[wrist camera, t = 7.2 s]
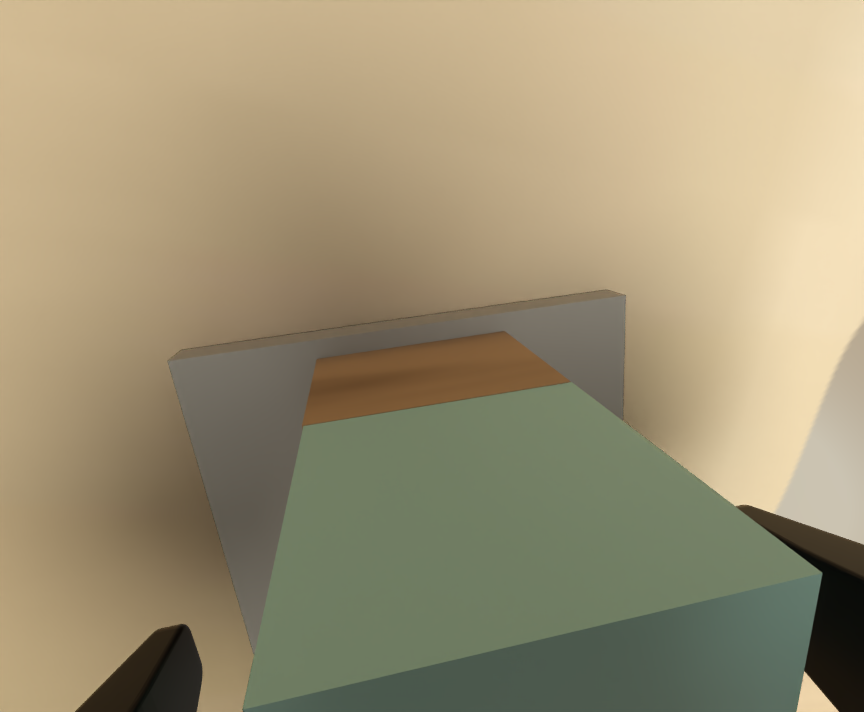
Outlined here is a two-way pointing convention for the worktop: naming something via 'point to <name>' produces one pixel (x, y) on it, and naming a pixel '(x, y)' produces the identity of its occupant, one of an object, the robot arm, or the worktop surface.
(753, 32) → the worktop surface
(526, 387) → the walnut base
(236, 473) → the board
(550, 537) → the teal block
